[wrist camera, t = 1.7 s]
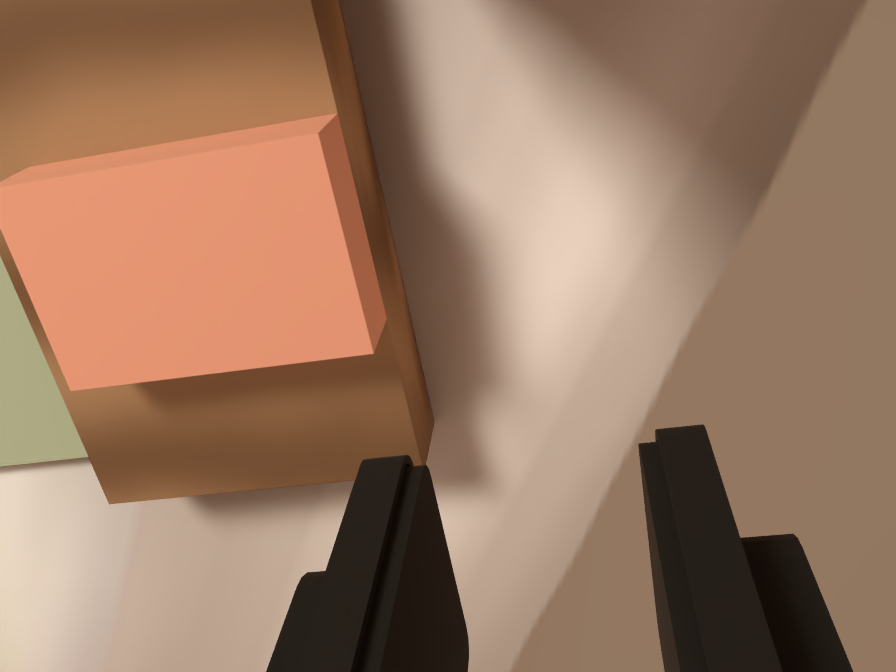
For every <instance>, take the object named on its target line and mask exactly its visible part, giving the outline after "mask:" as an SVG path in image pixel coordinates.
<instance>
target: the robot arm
mask: <svg viewBox="0 0 896 672" xmlns="http://www.w3.org/2000/svg"><path fill="white" fill-rule="evenodd" d="M655 433H656V434H655V436H656V442H650V443H640V444H639V456H640V465H641V474H642V484H643V492H644V503H645V512H646V521H647V530H648V540H649V549H650V557H651V567H652V577H653V586H654V596H655V605H656V613H657V623H658V630H659V638H660V644H661V651H662V657H663V663H664V669H665V672H853V670H852V668H851V665H850V663H849V660H848V658H847V655H846V653H845V651H844V648H843V646H842V643H841V641H840V639H839V636H838V634H837V631H836V628H835V626H834V624H833V621H832V619H831V616H830V614H829V611H828V609H827V606H826V604H825V602H824V599H823V597H822V594H821V592H820V589H819V587H818V584H817V582H816V580H815V577H814V575H813V572H812V570H811V567H810V565H809V562H808V560H807V557H806V555H805V553H804V550H803V548H802V546H801V544H800V542H799V540H798V538H797V537H796V536H795V535H794V534H786V535H785V534H784V535H772V536H759V537H748V538H740V536H739V533H738V529H737V526H736V523H735V520H734V517H733V514H732V510H731V507H730V504H729V501H728V498H727V495H726V491H725V488H724V485H723V482H722V479H721V476H720V472H719V470H718V466H717V463H716V460H715V457H714V453H713V450H712V447H711V444H710V441H709V438H708V435H707V431H706V429H705V426H704V425H693V426H684V427H674V428H664V429H656V431H655ZM468 662H469V643H468V633H467V628H466V623H465V619H464V615H463V610H462V606H461V602H460V598H459V594H458V589H457V585H456V581H455V577H454V572H453V568H452V564H451V560H450V555H449V551H448V547H447V543H446V538H445V534H444V530H443V526H442V521H441V517H440V513H439V509H438V504H437V500H436V496H435V492H434V487H433V483H432V479H431V475H430V471H429V469H428V467H427V466H426V465H419V466H414V464H413V461H412V459H411V457H410V456H409V455H400V456H390V457H380V458H370V459H364V460H362V462H361V464H360V467H359V470H358V473H357V476H356V479H355V482H354V485H353V488H352V492H351V495H350V498H349V501H348V504H347V507H346V510H345V513H344V516H343V519H342V522H341V525H340V528H339V531H338V535H337V538H336V541H335V544H334V547H333V550H332V553H331V556H330V559H329V562H328V565H327V568H326V571H321V572H308V573H306V574H305V575H304V576H303V577H302V578H301V580H300V582H299V584H298V586H297V588H296V590H295V593H294V596H293V599H292V602H291V604H290V607H289V610H288V613H287V615H286V618H285V621H284V624H283V627H282V629H281V632H280V635H279V638H278V640H277V643H276V646H275V649H274V652H273V654H272V657H271V660H270V663H269V665H268V668H267V671H266V672H468Z"/></svg>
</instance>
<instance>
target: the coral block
mask: <svg viewBox="0 0 896 672" xmlns="http://www.w3.org/2000/svg"><path fill="white" fill-rule="evenodd" d="M0 229H1V231H2V234H3V236H4V238H5V241H6V243H7V245H8V248H9V250H10V252H11V255H12V257H13V259H14V261H15V264H16V266H17V268H18V271H19V273H20V275H21V278H22V280H23V282H24V285H25V287H26V289H27V292H28V294H29V296H30V298H31V301H32V303H33V305H34V308H35V310H36V312H37V315H38V317H39V319H40V322H41V324H42V326H43V329H44V331H45V333H46V336H47V338H48V340H49V342H50V345H51V347H52V349H53V352H54V354H55V356H56V359H57V361H58V363H59V366H60V368H61V370H62V373H63V375H64V377H65V379H66V382H67V384H68V386H69V389H70V391H76V390H84V389H93V388H101V387H109V386H117V385H125V384H133V383H141V382H149V381H157V380H165V379H174V378H182V377H190V376H198V375H206V374H214V373H222V372H230V371H238V370H246V369H255V368H263V367H271V366H279V365H287V364H295V363H303V362H311V361H319V360H327V359H336V358H344V357H352V356H360V355H368V354H374V351H375V349H376V346H377V343H378V341H379V338H380V335H381V333H382V330H383V328H384V325H385V322H386V320H387V317H386V313H385V309H384V305H383V301H382V297H381V292H380V288H379V284H378V280H377V276H376V272H375V267H374V263H373V259H372V255H371V251H370V246H369V242H368V238H367V234H366V230H365V226H364V221H363V217H362V213H361V209H360V205H359V201H358V196H357V192H356V188H355V184H354V180H353V175H352V171H351V167H350V163H349V159H348V155H347V150H346V146H345V142H344V138H343V134H342V130H341V125H340V121H339V117H338V113H337V114H331V115H325V116H320V117H314V118H308V119H302V120H297V121H291V122H285V123H279V124H274V125H268V126H262V127H256V128H251V129H245V130H239V131H233V132H228V133H222V134H216V135H210V136H205V137H199V138H193V139H187V140H182V141H176V142H170V143H164V144H159V145H153V146H147V147H141V148H136V149H130V150H124V151H118V152H113V153H107V154H101V155H95V156H90V157H84V158H78V159H72V160H67V161H61V162H55V163H49V164H44V165H38V166H32V167H28V168H26V169H24V170H22V171H20V172H18V173H16V174H14V175H13V176H11V177H9V178H7V179H5V180H3V181H1V182H0Z"/></svg>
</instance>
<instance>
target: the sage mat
mask: <svg viewBox="0 0 896 672" xmlns="http://www.w3.org/2000/svg"><path fill="white" fill-rule="evenodd" d="M84 457H88V455H87V452H86V450H85V448H84V446H83V443H82V441H81V439H80V436H79V434H78V432H77V430H76V427H75V425H74V423H73V421H72V418H71V416H70V414H69V411H68V409H67V407H66V405H65V402H64V400H63V398H62V395H61V393H60V391H59V389H58V386H57V384H56V382H55V379H54V377H53V375H52V373H51V370H50V368H49V366H48V363H47V361H46V359H45V357H44V354H43V352H42V350H41V348H40V345H39V343H38V341H37V338H36V336H35V334H34V332H33V329H32V327H31V325H30V322H29V320H28V318H27V316H26V313H25V311H24V309H23V306H22V304H21V302H20V300H19V297H18V295H17V293H16V290H15V288H14V286H13V284H12V281H11V279H10V277H9V275H8V272H7V270H6V268H5V265H4V263H3V261H2V259H1V256H0V467H1V466H10V465H19V464H28V463H38V462H47V461H56V460H65V459H74V458H84Z"/></svg>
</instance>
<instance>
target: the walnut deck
mask: <svg viewBox="0 0 896 672" xmlns="http://www.w3.org/2000/svg"><path fill="white" fill-rule="evenodd" d="M337 113H338V117H339V121H340V125H341V130H342V134H343V138H344V142H345V146H346V150H347V155H348V159H349V163H350V167H351V171H352V175H353V180H354V184H355V188H356V192H357V196H358V201H359V205H360V209H361V213H362V217H363V221H364V226H365V230H366V234H367V238H368V242H369V246H370V251H371V255H372V259H373V263H374V267H375V272H376V276H377V280H378V284H379V288H380V292H381V297H382V301H383V305H384V309H385V313H386V317H387V320H386V322H385V325H384V328H383V330H382V333H381V335H380V338H379V341H378V343H377V346H376V349H375V351H374V354H368V355H360V356H352V357H344V358H336V359H327V360H319V361H311V362H303V363H295V364H287V365H279V366H271V367H263V368H255V369H246V370H238V371H230V372H222V373H214V374H206V375H198V376H190V377H182V378H174V379H165V380H157V381H149V382H141V383H133V384H125V385H117V386H109V387H101V388H93V389H84V390H76V391H70V389H69V386H68V384H67V382H66V379H65V377H64V375H63V373H62V370H61V368H60V366H59V363H58V361H57V359H56V356H55V354H54V352H53V349H52V347H51V345H50V342H49V340H48V338H47V336H46V333H45V331H44V329H43V326H42V324H41V322H40V319H39V317H38V315H37V312H36V310H35V308H34V305H33V303H32V301H31V298H30V296H29V294H28V292H27V289H26V287H25V285H24V282H23V280H22V278H21V275H20V273H19V271H18V268H17V266H16V264H15V261H14V259H13V257H12V255H11V252H10V250H9V248H8V245H7V243H6V241H5V238H4V236H3V234H2V231H1V229H0V256H1V259H2V261H3V263H4V265H5V268H6V270H7V272H8V275H9V277H10V279H11V281H12V284H13V286H14V288H15V290H16V293H17V295H18V297H19V300H20V302H21V304H22V306H23V309H24V311H25V313H26V316H27V318H28V320H29V322H30V325H31V327H32V329H33V332H34V334H35V336H36V338H37V341H38V343H39V345H40V348H41V350H42V352H43V354H44V357H45V359H46V361H47V363H48V366H49V368H50V370H51V373H52V375H53V377H54V379H55V382H56V384H57V386H58V389H59V391H60V393H61V395H62V398H63V400H64V402H65V405H66V407H67V409H68V411H69V414H70V416H71V418H72V421H73V423H74V425H75V427H76V430H77V432H78V434H79V436H80V439H81V441H82V443H83V446H84V448H85V450H86V452H87V455H88V457H89V459H90V462H91V464H92V466H93V468H94V471H95V473H96V475H97V478H98V480H99V482H100V484H101V487H102V489H103V491H104V494H105V496H106V498H107V500H108V503H109V504H116V503H126V502H136V501H146V500H157V499H167V498H177V497H187V496H197V495H207V494H218V493H228V492H238V491H248V490H258V489H269V488H279V487H289V486H299V485H309V484H320V483H330V482H340V481H350V480H355V479H356V476H357V473H358V470H359V467H360V464H361V462H362V460H364V459H370V458H380V457H390V456H400V455H409V456H410V457H411V459H412V461H413V464H414V466H419V465H426V460H427V455H428V451H429V446H430V441H431V436H432V431H433V427H434V419H433V415H432V410H431V406H430V402H429V397H428V393H427V388H426V384H425V379H424V375H423V371H422V366H421V362H420V357H419V353H418V349H417V344H416V340H415V335H414V331H413V326H412V322H411V318H410V313H409V309H408V304H407V300H406V295H405V291H404V287H403V282H402V278H401V273H400V269H399V264H398V260H397V256H396V251H395V247H394V242H393V238H392V234H391V229H390V225H389V220H388V216H387V211H386V207H385V203H384V198H383V194H382V189H381V185H380V180H379V176H378V172H377V167H376V163H375V158H374V154H373V150H372V145H371V141H370V136H369V132H368V127H367V123H366V119H365V114H364V110H363V105H362V101H361V96H360V92H359V88H358V83H357V79H356V74H355V70H354V65H353V61H352V57H351V52H350V48H349V43H348V39H347V35H346V30H345V26H344V21H343V17H342V12H341V8H340V4H339V0H0V182H1V181H3V180H5V179H7V178H9V177H11V176H13V175H14V174H16V173H18V172H20V171H22V170H24V169H26V168H28V167H32V166H38V165H44V164H49V163H55V162H61V161H67V160H72V159H78V158H84V157H90V156H95V155H101V154H107V153H113V152H118V151H124V150H130V149H136V148H141V147H147V146H153V145H159V144H164V143H170V142H176V141H182V140H187V139H193V138H199V137H205V136H210V135H216V134H222V133H228V132H233V131H239V130H245V129H251V128H256V127H262V126H268V125H274V124H279V123H285V122H291V121H297V120H302V119H308V118H314V117H320V116H325V115H331V114H337Z"/></svg>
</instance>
